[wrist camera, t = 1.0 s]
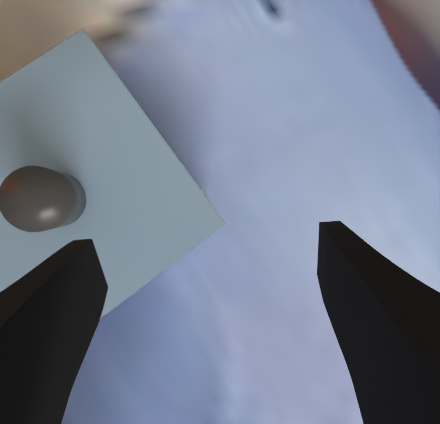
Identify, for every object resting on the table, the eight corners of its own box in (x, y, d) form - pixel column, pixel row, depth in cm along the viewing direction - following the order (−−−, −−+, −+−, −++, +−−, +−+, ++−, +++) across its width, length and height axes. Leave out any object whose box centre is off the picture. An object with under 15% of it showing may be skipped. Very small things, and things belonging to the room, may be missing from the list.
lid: (44, 355, 20) (3, 408, 15) (-110, 174, 19) (-215, 163, 14) (220, 221, 22) (239, 228, 17) (90, 43, 20) (64, -12, 15)
